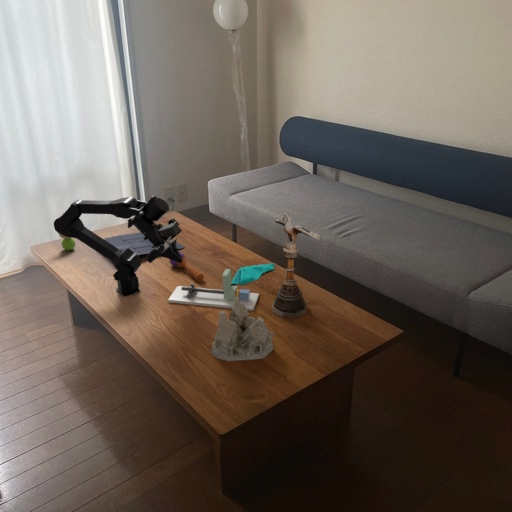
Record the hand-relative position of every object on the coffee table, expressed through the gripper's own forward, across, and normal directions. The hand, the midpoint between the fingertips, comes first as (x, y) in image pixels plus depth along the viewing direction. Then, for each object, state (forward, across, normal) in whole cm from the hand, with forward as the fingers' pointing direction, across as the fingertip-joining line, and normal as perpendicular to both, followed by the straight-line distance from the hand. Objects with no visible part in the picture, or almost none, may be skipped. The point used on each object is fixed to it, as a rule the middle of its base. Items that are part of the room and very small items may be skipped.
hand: (181, 261), depth 175 cm
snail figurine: (-32, +24, +56) cm, 69 cm away
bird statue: (+36, +2, -18) cm, 41 cm away
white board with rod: (+17, 0, +1) cm, 17 cm away
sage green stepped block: (+20, 0, -4) cm, 21 cm away
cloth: (+24, +22, -3) cm, 33 cm away
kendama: (+7, +17, +15) cm, 23 cm away
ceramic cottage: (+28, -26, -12) cm, 40 cm away
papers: (-11, +33, +36) cm, 50 cm away
